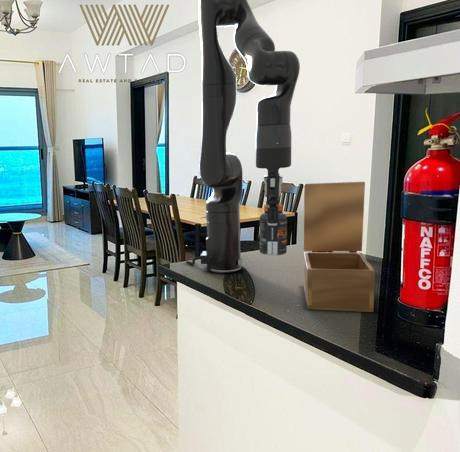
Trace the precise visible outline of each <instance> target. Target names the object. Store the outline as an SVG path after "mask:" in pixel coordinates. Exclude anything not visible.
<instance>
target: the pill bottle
mask: <svg viewBox="0 0 460 452" xmlns="http://www.w3.org/2000/svg"><path fill="white" fill-rule="evenodd" d="M283 206H284V205H283V204H280V203H279V207H278V223H276V224H269V223H268V207H267V205H266V204H264V206H263V211H264V213H262V214H260V215H259V244H258V245H259V253H260V254H261V255H265V256H284V255H286V254H287V248H288V247H287V245H288V243H287V242H288V238H287V237H288V217H287V215H286V214H285V213H284V212H283V210H284V208H283Z"/></svg>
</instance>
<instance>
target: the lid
mask: <svg viewBox="0 0 460 452" xmlns="http://www.w3.org/2000/svg"><path fill="white" fill-rule="evenodd" d="M365 191H366V182H365V181H346V182H345V181H344V182H320V183H317V182H316V183H315V182H313V183H304V184H303V251H304V252H312V251H333V252H349V251H357V252H363V238H364V237H363V233H364V212H365Z"/></svg>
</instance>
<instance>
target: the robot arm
mask: <svg viewBox="0 0 460 452" xmlns="http://www.w3.org/2000/svg"><path fill="white" fill-rule="evenodd" d="M198 26H199V38H200V51H201V144H200V153H199V154H200V155H199V167H198V168H199V176H200V179H201V182H202V183H203V184H204V186H206V187H208V188H211V189H212V193H211V196H210V197H209V198H208V200H206V203H205V213H206V238H205V250H203V251H202V252H201V254H200V256H195V257H193V258H192V260H191V261H189V260H186V262H185V263H186V264H188V265H191V266H192V265H195V264H196V261H197V260H200V265H206V272H207V273H208V272H210V273H215V274H233V273H238V272H240V271H241V270H242V264H243V258H242V257H241V256H242V255H241V252H242V251H241V218H240V217H241V214H240V212H241V211H240V207H241V205H240V204H241V202H242V199H243V176H244V175H243V166H242V162H241V160H240V158H239V157H238V156H237V155H235V154H234V153H231V152H227V134H228V129H229V127H230V124H231V121H232V118H233V116H234V113H235V110H236V107H237V97H238V96H237V95H238V93H237V90H238V87H237V86H238V85H237V84H238V82H237V75H236V73H235V70H234V68H233V67H232V65H231V63H230V61H229V59H227V57H226V55H225V53H224V51H223V49H222V48H221V47H222V46H221V45H220V41H219V36H218V27H219V28H220V27H221V28H223V27H224V28H228V27H234V28H235V30H234V33H233V43H234V46H235V49H236V50H237V52H238V53H239V54H240V55H241V57H242V58H243V60H244V62H245V65H246V71H247V76H248V79H249V81H250V82H252V83H253V84H255V85H256V86H261V87H265V86H266V87H267V86H269V87H271V86H275V90H274V92H273V94H272V95H269V96H267V97H263V98H261V99H259V100H258V102H257V103H256V132H255V168H257V169H266V170H267V175H264V176H263V185H264V197H265V198H266V201H265V205H267V207H268V223H269V224H276V223H278V207H279V204H280V197H282V185H283V174H280V172H279V170H280V169H286V168H290V167H291V166H292V128H291V110H292V109H291V106H292V101H293V97H294V93H295V90H296V86H297V82H298V80H299V76H300V72H301V71H300V70H301V63H300V60H299V57H298V55H297V54H296V53H295V52H293V51H292V50H276V45H275V42H274V40H273V39H272V37H270V35H269V34H268V33H267V32H266V31H265V30H264V29H263V28H262V26H261V25H260V24H259V22H258V21H257V19H256V17H255V15H254V12H253V10H252V8H251V6H250V4H249V2H248V0H198Z"/></svg>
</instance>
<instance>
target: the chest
mask: <svg viewBox="0 0 460 452" xmlns="http://www.w3.org/2000/svg"><path fill="white" fill-rule="evenodd" d="M375 273H376V271H375V269H374V268H373V266H372V264H370V261H368V260H367V258H366V257H365V255H364V254H363V253H362V252H356V253H349V252H337V251H333V252H312V251H304V252H303V290H304V297H305V302H306V308H307V310H316V311H317V310H319V311H341V312H359V313H360V312H361V313H363V312H365V313H374V308H375V277H376V276H375Z"/></svg>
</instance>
